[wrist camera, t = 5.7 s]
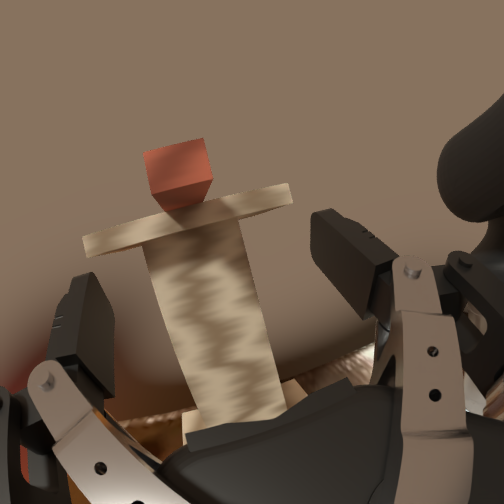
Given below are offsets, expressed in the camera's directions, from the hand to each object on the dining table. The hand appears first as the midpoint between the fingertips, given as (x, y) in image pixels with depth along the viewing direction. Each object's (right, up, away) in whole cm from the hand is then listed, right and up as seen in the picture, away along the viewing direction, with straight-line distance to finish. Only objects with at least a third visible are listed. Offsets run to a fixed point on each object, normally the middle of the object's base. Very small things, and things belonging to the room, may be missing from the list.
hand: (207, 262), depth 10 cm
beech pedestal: (+2, -26, +26) cm, 37 cm away
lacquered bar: (-5, +5, +18) cm, 19 cm away
